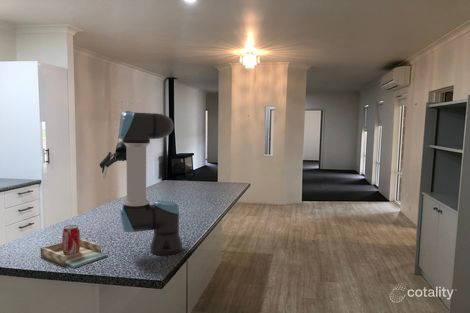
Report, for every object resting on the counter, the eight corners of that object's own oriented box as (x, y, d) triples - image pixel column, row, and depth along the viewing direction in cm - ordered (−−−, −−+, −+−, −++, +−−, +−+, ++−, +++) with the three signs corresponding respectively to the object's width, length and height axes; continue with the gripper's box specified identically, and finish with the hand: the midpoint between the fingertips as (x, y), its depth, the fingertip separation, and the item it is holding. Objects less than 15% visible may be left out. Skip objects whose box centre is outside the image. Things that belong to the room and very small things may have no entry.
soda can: (59, 254, 155) (58, 227, 154) (71, 249, 162) (71, 224, 161) (71, 256, 153) (70, 229, 152) (83, 251, 159) (83, 225, 158)
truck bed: (109, 256, 156) (108, 247, 156) (71, 268, 141) (71, 259, 141) (78, 245, 170) (78, 237, 169) (40, 256, 155) (40, 247, 154)
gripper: (147, 151, 195) (143, 181, 181) (101, 151, 192) (93, 182, 178) (145, 142, 189) (141, 173, 175) (98, 142, 186) (90, 173, 172)
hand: (117, 177), depth 177 cm, fingers open, 13 cm apart
